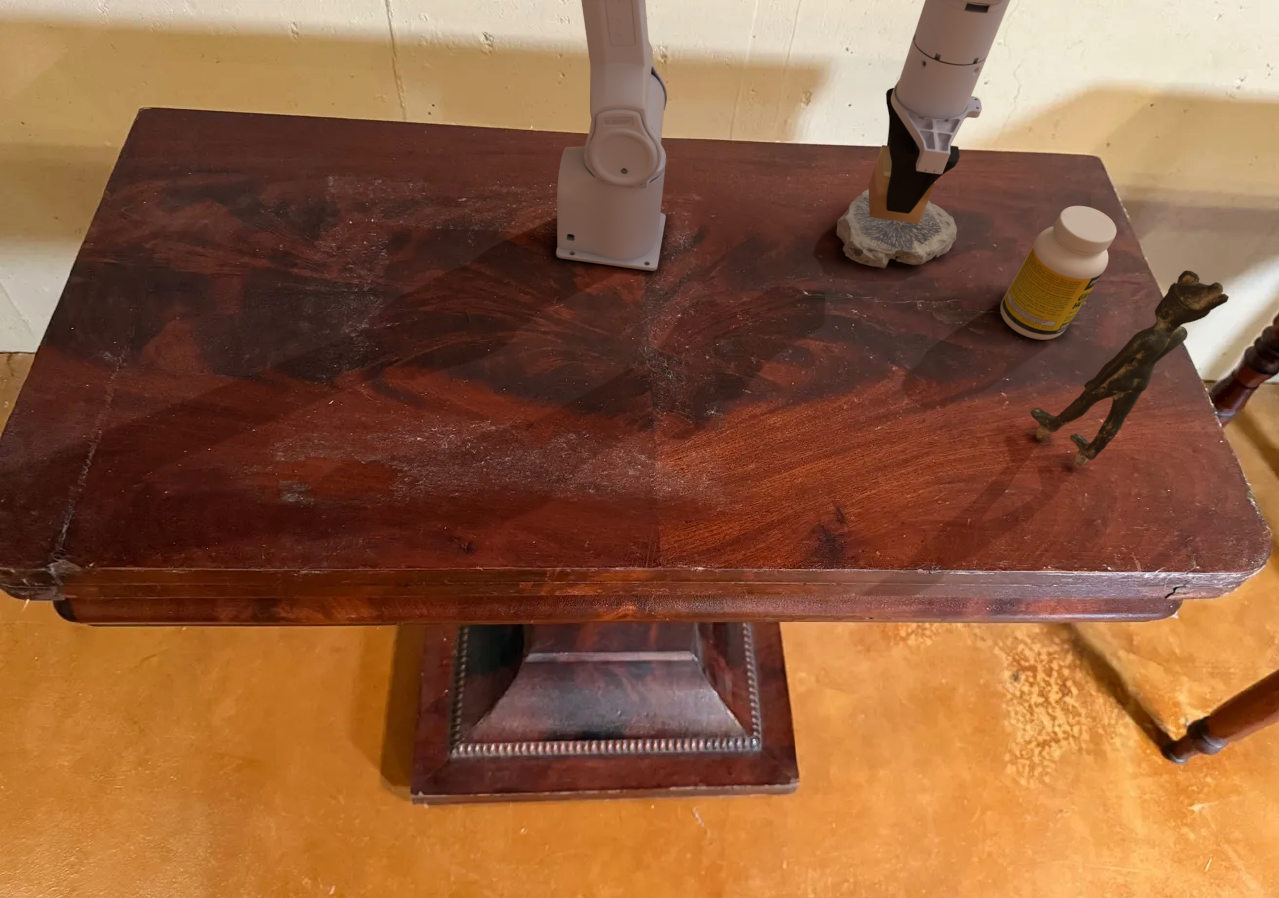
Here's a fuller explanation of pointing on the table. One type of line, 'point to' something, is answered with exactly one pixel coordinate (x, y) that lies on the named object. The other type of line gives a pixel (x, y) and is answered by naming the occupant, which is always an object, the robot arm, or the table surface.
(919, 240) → the fossil
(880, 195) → the block
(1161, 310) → the statue
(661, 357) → the table surface
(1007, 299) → the pill bottle
